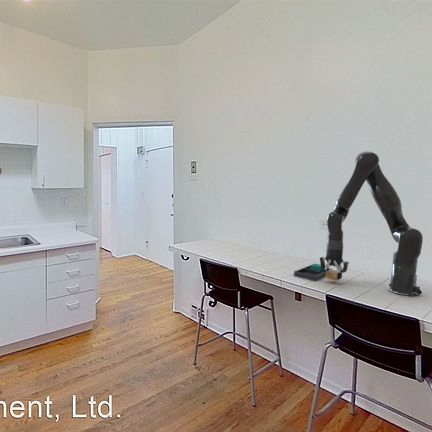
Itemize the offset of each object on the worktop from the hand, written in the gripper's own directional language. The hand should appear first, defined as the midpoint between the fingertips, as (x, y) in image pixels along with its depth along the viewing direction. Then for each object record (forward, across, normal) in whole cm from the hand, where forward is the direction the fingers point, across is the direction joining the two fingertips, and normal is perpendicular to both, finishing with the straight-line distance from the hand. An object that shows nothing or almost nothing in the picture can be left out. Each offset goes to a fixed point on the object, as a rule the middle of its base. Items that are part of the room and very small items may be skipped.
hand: (332, 277), depth 165 cm
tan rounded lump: (+1, 0, 0) cm, 1 cm away
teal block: (+2, -13, +12) cm, 18 cm away
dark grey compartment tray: (+3, -13, +6) cm, 15 cm away
